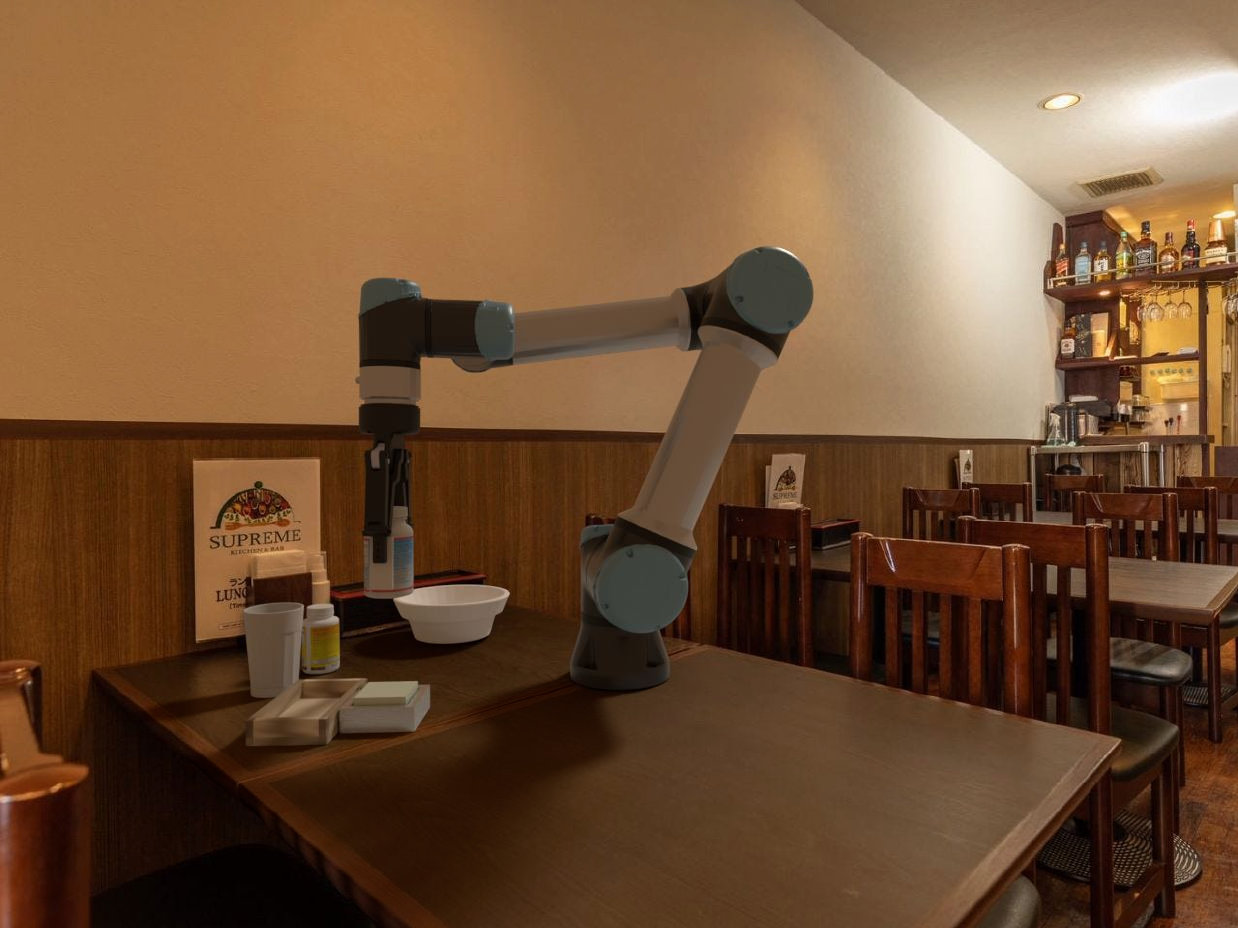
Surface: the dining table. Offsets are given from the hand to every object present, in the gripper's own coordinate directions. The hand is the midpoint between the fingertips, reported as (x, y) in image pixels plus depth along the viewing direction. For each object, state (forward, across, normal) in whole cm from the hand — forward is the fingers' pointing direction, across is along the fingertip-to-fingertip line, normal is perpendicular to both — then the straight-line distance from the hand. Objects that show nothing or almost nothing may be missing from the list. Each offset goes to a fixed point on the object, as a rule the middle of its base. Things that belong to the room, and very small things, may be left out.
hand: (389, 584), depth 95 cm
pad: (+15, 0, 0) cm, 15 cm away
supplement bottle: (+18, -23, -17) cm, 34 cm away
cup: (+18, -13, -20) cm, 30 cm away
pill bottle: (+2, 0, 0) cm, 2 cm away
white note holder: (+17, 0, 0) cm, 17 cm away
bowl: (+18, -43, 0) cm, 47 cm away
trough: (+18, 0, -10) cm, 20 cm away
